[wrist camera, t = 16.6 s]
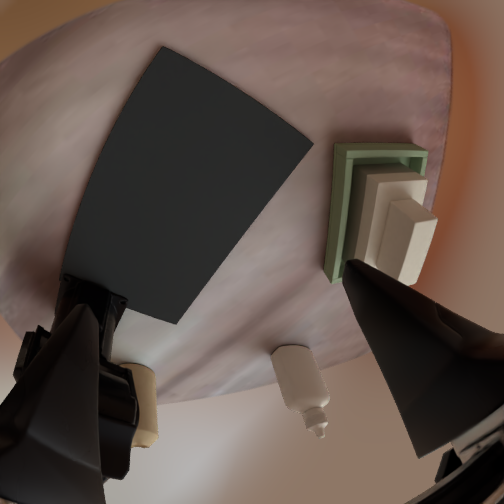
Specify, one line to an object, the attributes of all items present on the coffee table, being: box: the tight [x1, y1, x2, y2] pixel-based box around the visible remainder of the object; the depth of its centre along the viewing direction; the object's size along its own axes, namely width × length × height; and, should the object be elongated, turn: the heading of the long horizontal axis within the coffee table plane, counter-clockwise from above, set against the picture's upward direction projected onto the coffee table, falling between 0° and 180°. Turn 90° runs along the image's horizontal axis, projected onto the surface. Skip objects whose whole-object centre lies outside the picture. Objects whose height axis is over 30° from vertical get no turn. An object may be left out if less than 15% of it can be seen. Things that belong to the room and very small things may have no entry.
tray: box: [324, 143, 428, 284], centre depth 22 cm, size 12×8×2 cm
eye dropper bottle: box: [271, 345, 330, 439], centre depth 29 cm, size 4×6×12 cm
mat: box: [59, 46, 314, 324], centre depth 19 cm, size 20×12×1 cm, turn 144°
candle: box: [119, 364, 158, 448], centre depth 26 cm, size 6×6×10 cm
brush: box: [342, 163, 438, 286], centre depth 20 cm, size 9×5×6 cm, turn 4°
